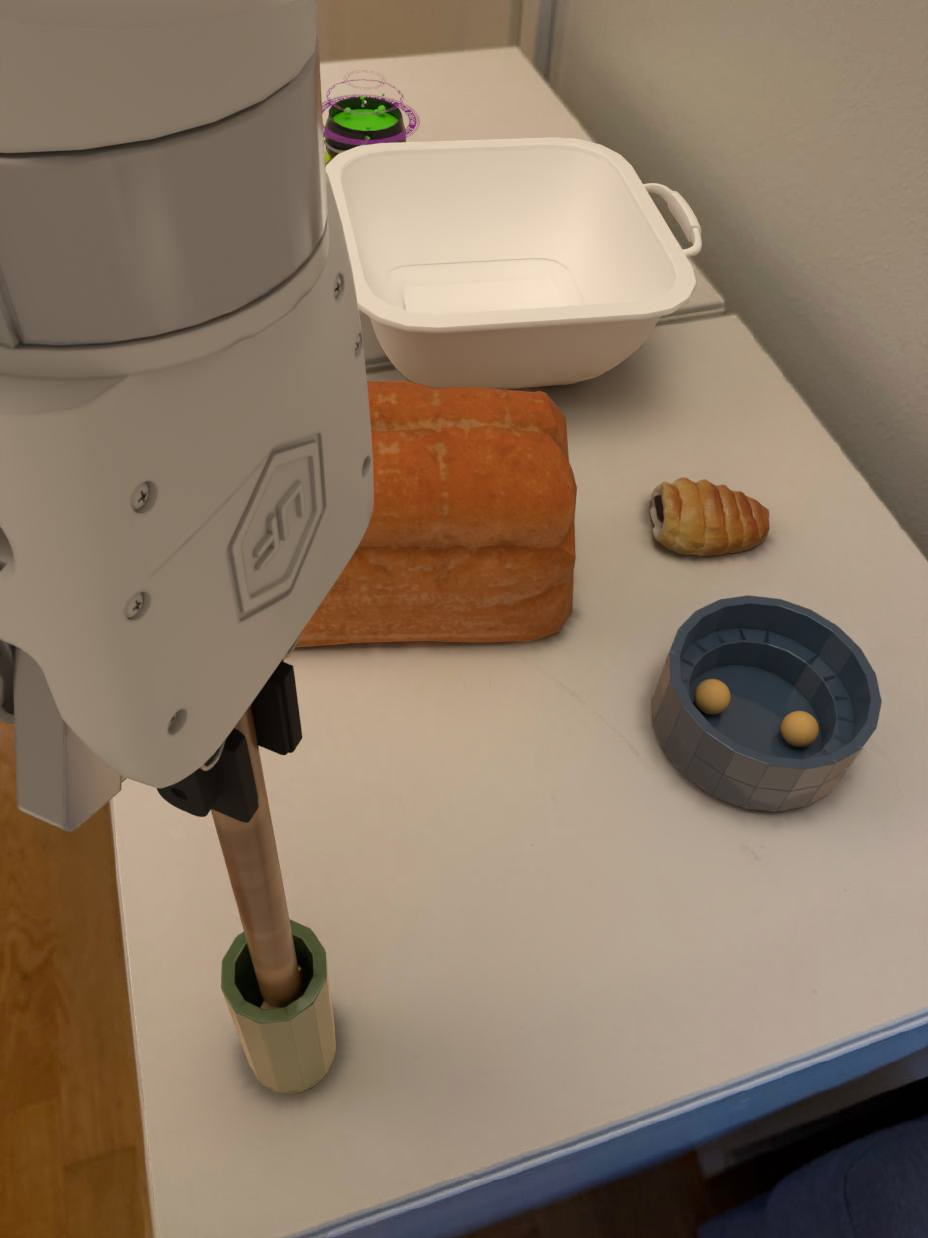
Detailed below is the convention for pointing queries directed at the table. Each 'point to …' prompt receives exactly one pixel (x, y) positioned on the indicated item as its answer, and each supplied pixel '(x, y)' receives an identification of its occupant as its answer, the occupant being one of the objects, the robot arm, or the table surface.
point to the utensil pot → (283, 1017)
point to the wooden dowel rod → (261, 889)
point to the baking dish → (509, 257)
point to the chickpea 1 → (712, 696)
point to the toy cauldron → (364, 121)
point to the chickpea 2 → (799, 729)
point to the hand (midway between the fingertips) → (230, 761)
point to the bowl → (765, 702)
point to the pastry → (706, 518)
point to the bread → (459, 522)
